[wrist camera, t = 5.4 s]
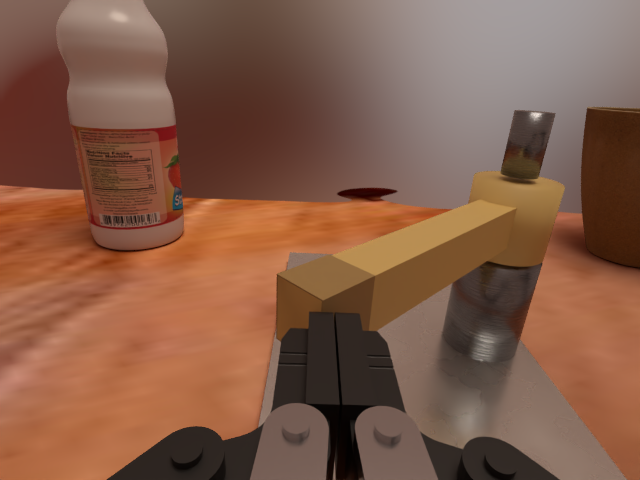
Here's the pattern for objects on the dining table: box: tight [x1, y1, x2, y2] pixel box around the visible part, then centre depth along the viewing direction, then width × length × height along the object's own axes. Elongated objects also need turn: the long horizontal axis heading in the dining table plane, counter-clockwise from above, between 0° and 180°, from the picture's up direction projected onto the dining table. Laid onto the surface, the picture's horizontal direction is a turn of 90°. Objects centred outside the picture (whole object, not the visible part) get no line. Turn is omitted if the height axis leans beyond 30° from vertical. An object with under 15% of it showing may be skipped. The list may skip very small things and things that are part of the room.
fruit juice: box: [56, 0, 184, 250], centre depth 38 cm, size 9×9×28 cm
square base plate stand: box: [258, 110, 627, 480], centre depth 25 cm, size 17×24×16 cm
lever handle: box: [276, 171, 565, 342], centre depth 19 cm, size 19×5×4 cm, turn 135°
